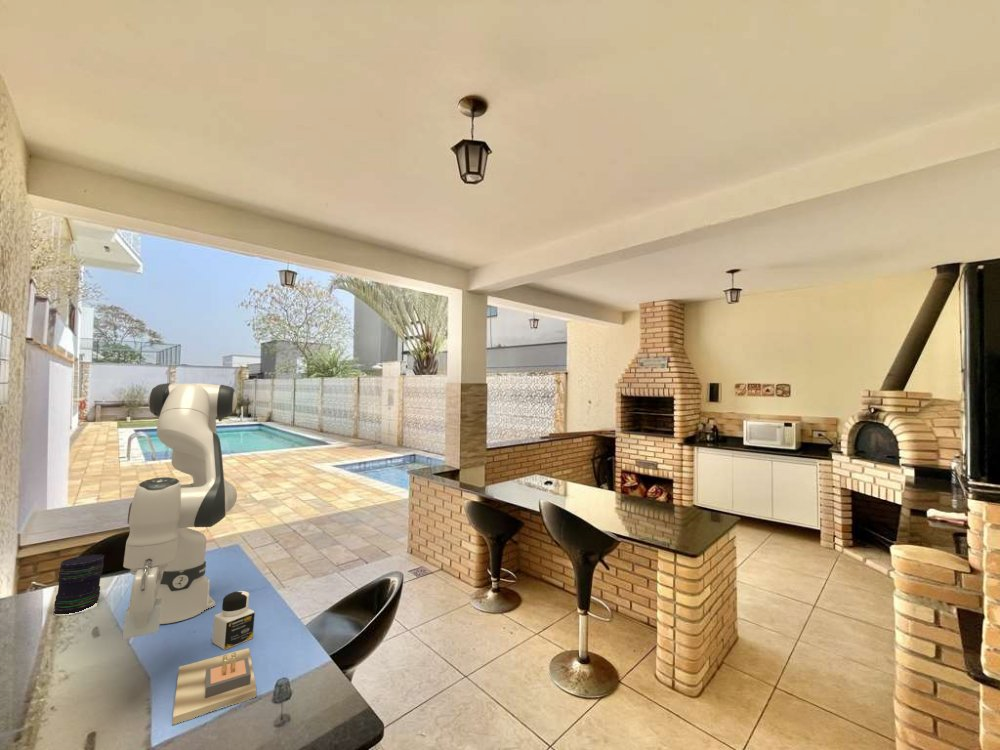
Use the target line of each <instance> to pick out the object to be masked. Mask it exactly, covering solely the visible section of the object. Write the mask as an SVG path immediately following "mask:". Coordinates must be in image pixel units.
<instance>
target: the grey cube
mask: <svg viewBox="0 0 1000 750" xmlns="http://www.w3.org/2000/svg"><path fill="white" fill-rule="evenodd" d="M162 603H163V598H159V599H155V602H154V606H153V609H152V611H151V612H149V615H148V623H147V626H146V627H145V628H141V629H136V628H135V627H136V615H135V616H130V615H129V606H127V610H126V612H125V615H124V616H125V617H124V626H123V633H122V640H127V639H132V638H135V637H140V636H144V635H148V634H154V633H157V632H159V630H160V629H159V628H160V625H161V624H160V621H161V612H162Z"/></svg>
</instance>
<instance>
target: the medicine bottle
mask: <svg viewBox="0 0 1000 750" xmlns="http://www.w3.org/2000/svg"><path fill="white" fill-rule="evenodd" d="M249 600H250V593H249V592H248V591H244V590H238V591H233V592H230V593H228V594H227V595H225V596H224V597H223V598H222V607H221V612H219V613H216V614H215V615H214V618H213V619H214V620H213V626H212V627H213V629H212V638H211V642H212V643H213V644H214V645H216V646H217V647H219V648H220V649H222V650H223V651H227V650H229V649H231V648H233V647H235V646H238V645H240V644H242V643H246V642H247V641H250V640H253V638H254V628H255V627H254V625H255V616H256V615H255V613H256V612H255V611H254V610H253V609H251V608H249V603H250V601H249Z"/></svg>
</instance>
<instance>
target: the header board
mask: <svg viewBox="0 0 1000 750" xmlns="http://www.w3.org/2000/svg"><path fill="white" fill-rule="evenodd" d="M177 673H178V674H177V681H176V691H175V696H174V697H175V698H174V704H173V705H174V706H173V714H172V722H171V723H172V724H171V726H174V725H173V724H175V725H178V724H181V723H184V722H187V721H189V720H192V719H196V718H199V717H202V716H203V715H202V714H205V713H208V712H211V713H213V712H212V711H214V710H217V709H219V708H221V707H225V706H229V707H231V706H230V705H232V706H235V705H238V704H240V703H244V702H246V701H250V700H253V699H256V698H257V691H258V690H257V685H256V678H255V674H254V667H253V663H252V656H251V652H250V648H249V647H247V648H244V649H240V650H236V651H232V652H228V653H225V654H222V655H217V656H214V657H213V656H212V657H209V658H206V659H203V660H199V661H195V662H192V663H188V664H184V665H180V666H178V672H177ZM255 697H256V698H255ZM252 698H253V699H252ZM249 699H250V700H249ZM237 703H238V704H237ZM234 704H235V705H234ZM217 711H218V710H217ZM214 712H215V711H214ZM208 714H209V713H208ZM201 715H202V716H201ZM205 715H206V714H205ZM198 716H199V717H198ZM195 717H196V718H195ZM183 721H184V722H183ZM180 722H181V723H180ZM177 723H178V724H177Z"/></svg>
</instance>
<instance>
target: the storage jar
mask: <svg viewBox="0 0 1000 750" xmlns="http://www.w3.org/2000/svg"><path fill="white" fill-rule="evenodd" d="M104 558H105V555H104V554H98V553H97V554H88V555H81V556H74V557H71V558H68V559H67V558H66V559H64V560H62V561H61V562H60V565H59V566H60V567H59V572H58V578H57V580H58V581H57V583H58V587H57V594H56V595H55V601H54V609H53V610H54V611H53V614H54V613H55V614H69V613H75V612H79V611H82V610H84V609H86V608H89V607H91V606H93V605H94V604H95V603H97V601H99V598H100V594H101V592H100V591H101V585H100V583H101V576H102V574H103V569H104Z"/></svg>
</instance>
